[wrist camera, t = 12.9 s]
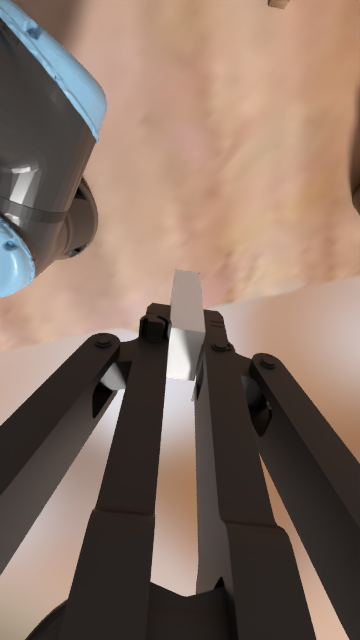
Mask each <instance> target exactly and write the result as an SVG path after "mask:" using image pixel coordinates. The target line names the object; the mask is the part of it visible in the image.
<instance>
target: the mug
mask: <svg viewBox="0 0 360 640" xmlns="http://www.w3.org/2000/svg"><path fill="white" fill-rule="evenodd" d="M352 202H353V206H354V207H355V209H356V210H357V212H358V213H359V215H360V184H359V185H358V186H357V188H356V189H355V191H354V194H353V199H352Z"/></svg>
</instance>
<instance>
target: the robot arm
mask: <svg viewBox="0 0 360 640" xmlns="http://www.w3.org/2000/svg"><path fill="white" fill-rule="evenodd" d="M106 110H107V101H106V97H105V93H104V91H103V89H102V87H101V86H100V84H99V83H98V82H97V81H96V79H95V78H94V77H93V76H92V75H91V74H90V73H89V72H88V71H87V70H86V69H85V68H84V67H83V66H82V65H81V64H80V63H79V62H78V61H77V60H76V59H75V58H74V57H73V56H72V55H71V54H70V53H69V52H68V51H67V50H66V49H65V48H64V47H63V46H62V45H61V44H60V43H59V42H58V41H57V40H55V39H54V38H53V37H52V36H51V35H50V34H49V33H48V32H47V31H45V30H44V29H43V28H41V27H39V26H38V24H37V23H36V22H35V21H34V20H33V19H31V18H30V17H29V16H28V15H27V14H26V13H25V12H24V11H23V10H22V9H21V8H20V7H19V6H17V5H16V4H15V3H14V2H13V1H11V0H0V297H6V296H9V295H12V294H14V293H15V292H17V291H19V290H20V289H23V288H24V287H26V286H28V285H29V284H30V283H31V281H32V280H33V279H34V278H35V277H37V276H38V275H39V274H40V273H41V272H42V271H43V270H45V269H46V268H47V267H48V266H49V265H50V264H51V263H53V262H54V261H55V260H62V259H68V258H71V257H74V256H76V255H78V254H79V253H81V252H82V251H83V250H84V249H85V248H86V247H87V246H88V245H89V244H90V243H91V242H92V240H93V238H94V236H95V234H96V231H97V226H98V213H97V208H96V204H95V202H94V199H93V197H92V195H91V193H90V191H89V190H88V188H87V187H86V185H85V184H84V183H83V182H82V181H81V178H82V175H83V173H84V170H85V168H86V165H87V163H88V160H89V158H90V155H91V153H92V150H93V147H94V145H95V143H96V144H97V143H98V141H99V135H98V134H99V131H100V128H101V125H102V123H103V120H104V117H105V114H106ZM195 375H196V383H195V387H194V392H193V396H192V401H194V400H195V401H194V402H195V439H196V476H197V477H196V480H197V518H198V554H199V555H198V557H199V561H198V562H199V564H198V575H197V582H196V595H192V596H188V597H185V596H181V595H178V594H176V593H174V592H172V591H170V590H167V589H165V588H163V587H161V586H158V585H156V584H154V583H152V582H150V578H151V566H152V554H153V553H152V552H153V542H154V529H155V500H156V488H157V476H158V465H159V454H160V442H161V431H162V419H163V408H164V396H165V384H166V377H167V378H176V379H183V380H191V381H194V379H195ZM119 389H125V393H124V396H123V400H122V404H121V408H120V412H119V417H118V421H117V425H116V428H115V432H114V436H113V440H112V444H111V448H110V452H109V456H108V460H107V464H106V468H105V472H104V476H103V480H102V484H101V488H100V492H99V496H98V500H97V503H96V506H95V508H94V509H93V510H92V513H91V515H90V518H89V522H88V525H87V529H86V532H85V536H84V540H83V544H82V548H81V552H80V555H79V559H78V563H77V567H76V571H75V574H74V578H73V582H72V586H71V590H70V593H69V597H68V599H67V600H65V601H64V602H63V603H61V604H60V605H59V606H57V607H56V608H55V609H53V610H52V611H51V612H50V613H49V614H48V615H47V616H46V617H45V618H44V619H43V620H42V621H41V622H40V623H39V624H38V625H37V627H35V629H34V630H33V631H32V632H31V633H30V634H29V636H28V637H27V638H26V639H25V640H316V636H315V632H314V628H313V624H312V621H311V617H310V613H309V609H308V605H307V602H306V598H305V594H304V590H303V586H302V583H301V579H300V575H299V571H298V567H297V563H296V559H295V556H294V552H293V548H292V545H291V542H290V539H289V536H288V535H287V533H286V531H285V530H284V529H283V528H281V527H280V526H278V525H277V524H276V522H275V519H274V516H273V512H272V508H271V504H270V499H269V495H268V491H267V486H266V482H265V478H264V473H263V469H262V465H261V461H260V456H259V453H260V455H261V458H262V460H263V462H264V464H265V466H266V468H267V470H268V472H269V474H270V476H271V478H272V481H273V483H274V485H275V487H276V489H277V491H278V493H279V495H280V497H281V499H282V501H283V503H284V506H285V508H286V510H287V512H288V514H289V516H290V518H291V520H292V522H293V524H294V526H295V528H296V531H297V533H298V535H299V536H300V539H301V541H302V543H303V545H304V547H305V549H306V551H307V553H308V555H309V558H310V560H311V562H312V564H313V566H314V568H315V570H316V572H317V574H318V576H319V578H320V580H321V583H322V585H323V587H324V589H325V591H326V593H327V595H328V597H329V599H330V601H331V603H332V605H333V608H334V609H335V612H336V614H337V616H338V618H339V620H340V622H341V624H342V626H343V628H344V630H345V631H346V634H347V636H348V638H349V640H360V464H359V462H358V461H357V460H356V458H355V457H354V456H353V454H352V453H351V452H350V451H349V449H348V448H347V447H346V445H345V444H344V443H343V441H342V440H341V439H340V437H339V436H338V435H337V434H336V432H335V431H334V430H333V428H332V427H331V426H330V424H329V423H328V422H327V421H326V419H325V418H324V417H323V416H322V414H321V413H320V411H319V410H318V409H317V408H316V406H315V405H314V404H313V402H312V401H311V400H310V398H309V397H308V396H307V395H306V393H305V392H304V391H303V389H302V388H301V387H300V385H299V384H298V383H297V382H296V380H295V379H294V378H293V376H292V375H291V374H290V372H289V371H288V370H287V369H286V368H285V366H284V365H283V363H282V362H281V361H280V360H279V359H277V358H276V357H274V356H272V355H269V354H266V353H258V354H255V355H254V356H253V358H252V359H249V358H246V357H244V356H241V355H239V354H237V353H236V352H235V349H234V347H233V345H232V344H231V343H230V342H228V339H227V334H226V330H225V325H224V320H223V316H221V314H220V313H219V312H218V311H211V310H204V309H203V302H202V292H201V282H200V273H196V272H190V271H183V270H176V269H175V275H174V282H173V288H172V295H171V302H170V305H164V304H157V303H152V304H151V305H150V306H148V307H147V311H146V315H145V316H143V317H142V318H141V319H140V327H139V337H138V338H136V339H135V340H132V341H127V342H120V340H119V338H118V337H116V336H115V335H113V334H109V333H98V334H95V335H92V336H91V337H89V338H88V339H87V340H86V341H85V342H84V343H83V344H82V345H81V346H80V347H79V348H78V349H77V350H76V351H75V352H74V353H73V354H72V355H71V356H70V357H69V358H68V359H67V360H66V361H65V362H64V363H63V364H62V365H61V366H60V367H59V368H58V369H57V370H56V371H55V372H54V373H53V374H52V375H51V376H50V377H49V378H48V379H47V380H46V381H45V382H44V383H43V384H42V385H41V386H40V387H39V388H38V389H37V390H36V391H35V392H34V393H33V394H32V395H31V396H30V397H29V398H28V399H27V400H26V401H25V402H24V403H23V404H22V405H21V406H20V407H19V408H18V409H17V410H16V411H15V412H14V413H13V414H12V415H11V416H10V417H9V418H8V419H7V420H6V421H5V422H4V423H3V424H2V425H1V426H0V575H1V573H2V572H3V570H4V569H5V567H6V566H7V564H8V563H9V561H10V559H11V558H12V556H13V555H14V553H15V552H16V550H17V549H18V547H19V545H20V544H21V542H22V541H23V539H24V538H25V536H26V535H27V533H28V531H29V530H30V528H31V527H32V525H33V524H34V522H35V520H36V519H37V517H38V516H39V514H40V513H41V511H42V510H43V508H44V506H45V505H46V503H47V501H48V500H49V498H50V497H51V495H52V494H53V492H54V491H55V489H56V488H57V486H58V485H59V483H60V481H61V480H62V478H63V477H64V475H65V474H66V472H67V470H68V469H69V467H70V466H71V464H72V463H73V461H74V459H75V458H76V456H77V455H78V453H79V452H80V450H81V449H82V447H83V446H84V444H85V442H86V441H87V439H88V437H89V436H90V435H91V433H92V431H93V430H94V428H95V427H96V425H97V424H98V422H99V420H100V419H101V417H102V416H103V414H104V413H105V411H106V410H107V408H108V406H109V405H110V403H111V402H112V400H113V399H114V397H115V396H116V394H117V391H118V390H119ZM258 451H259V452H258Z"/></svg>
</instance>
